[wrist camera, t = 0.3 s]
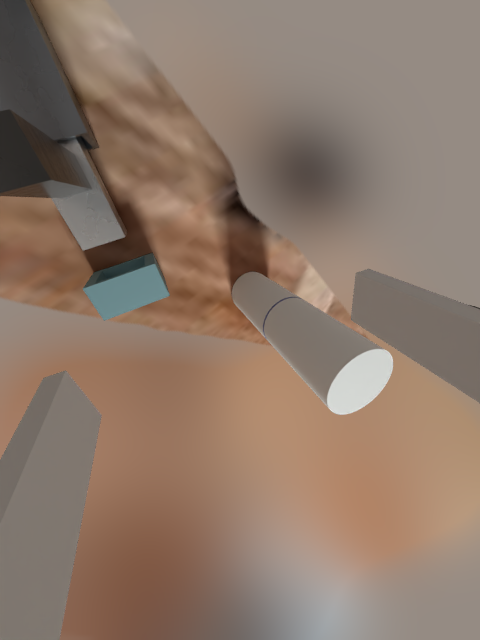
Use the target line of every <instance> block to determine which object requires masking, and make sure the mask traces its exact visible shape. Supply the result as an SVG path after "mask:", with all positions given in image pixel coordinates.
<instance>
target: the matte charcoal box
mask: <svg viewBox="0 0 480 640" xmlns="http://www.w3.org/2000/svg"><path fill="white" fill-rule="evenodd" d="M8 109H10V110H11V111H13V112H14V113H16V114H17V115H19V116H20V117H22V118H23V119H24V120H26V121H27V122H29V123H30V124H32V125H33V126H35V127H36V128H37V129H39V130H40V131H42V132H43V133H45V134H46V135H48V136H49V137H50V138H52V139H53V140H55V141H56V142H57V141H61V140H65V139H70V138H74V137H78V136H81V138H82V140H83V142H84V144H85V146H86V148H87V150H92V149H96V148H99V146H98V143H97V141H96V139H95V137H94V135H93V133H92V130H91V128H90V126H89V124H88V122H87V120H86V117H85V115H84V113H83V111H82V109H81V107H80V104H79V102H78V100H77V98H76V96H75V94H74V91H73V89H72V87H71V85H70V83H69V81H68V78H67V76H66V74H65V72H64V70H63V68H62V66H61V63H60V61H59V59H58V57H57V55H56V53H55V50H54V48H53V46H52V44H51V42H50V40H49V37H48V35H47V33H46V31H45V29H44V27H43V24H42V22H41V20H40V18H39V16H38V14H37V12H36V10H35V9H34V7H33V5H32V3H31V2H30V0H0V111H4V110H8Z"/></svg>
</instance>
